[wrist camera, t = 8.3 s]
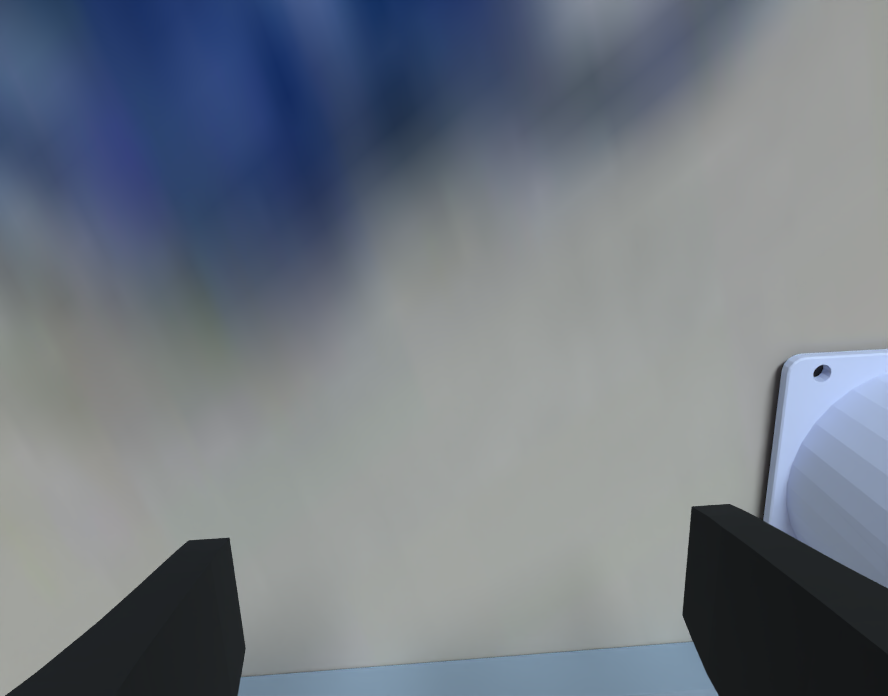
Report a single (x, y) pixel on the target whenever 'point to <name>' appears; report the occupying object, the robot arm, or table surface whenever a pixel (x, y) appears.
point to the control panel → (510, 676)
